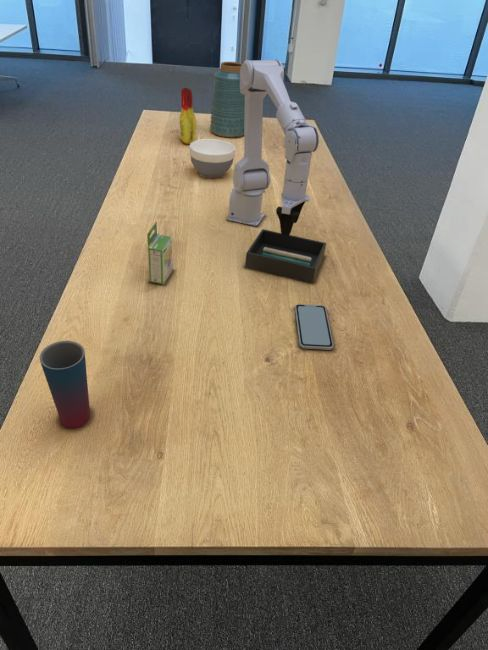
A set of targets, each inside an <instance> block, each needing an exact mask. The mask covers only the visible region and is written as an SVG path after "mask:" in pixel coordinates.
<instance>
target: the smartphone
mask: <svg viewBox="0 0 488 650" xmlns="http://www.w3.org/2000/svg"><path fill="white" fill-rule="evenodd" d="M294 313H295V320H296V329H297V336H298V344H299V347H300V348H302V349H305V350H309V349H310V350H326V351H328V350H332V349H333V348H334V339H333V335H332V331H331V325H330V321H329V315H328V312H327V307H326V306H325V305H323V304H321V305H320V304H303V303H297V304H295V306H294Z"/></svg>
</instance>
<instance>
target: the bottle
mask: <svg viewBox="0 0 488 650" xmlns="http://www.w3.org/2000/svg"><path fill="white" fill-rule="evenodd" d="M180 94H181V95H180V96H181V97H180V99H181V100H180V101H181V103H180V104H181V112H180V114H179V129H180V130H179V131H180V132H179V133H180V139H181V141H182V143H184V144H185V145H190V144H191V143H192V142H194V141H196V140H197V139H196V138H197V137H196V135H197V118H196V115H195V113H194V104H193V103H194V102H193V101H194V100H193V92H192V89H190V88H188V87H182V88H181V91H180Z"/></svg>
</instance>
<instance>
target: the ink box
mask: <svg viewBox="0 0 488 650" xmlns="http://www.w3.org/2000/svg"><path fill="white" fill-rule="evenodd" d="M157 223H158V222H157V221H155V222H154V224H153V225H152V227H151V228H150V229H149V231H147V233H146V241H147V257H148V258H147V259H148V260H147V261H148V281H149V283H153V284H157V285H162V286H164V285H166V282H167V280H169V278H170V276H171V274H172V272H173V271H174V266H173V265H174V263H173V262H174V261H173V237H172V236H169V235H163V234H158V225H157Z"/></svg>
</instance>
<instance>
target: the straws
mask: <svg viewBox="0 0 488 650" xmlns="http://www.w3.org/2000/svg"><path fill="white" fill-rule="evenodd" d="M262 255H264V256H268V257H272V258H277V259H281V260H286V261H290V262H294V263H299V264H303V265H307V266H310V264H311V260H312V259H311V257H307V256H303V255H298V254H294V253H289V252H285V251H281V250H276V249H272V248H267V247H264V248H263V253H262Z"/></svg>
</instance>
